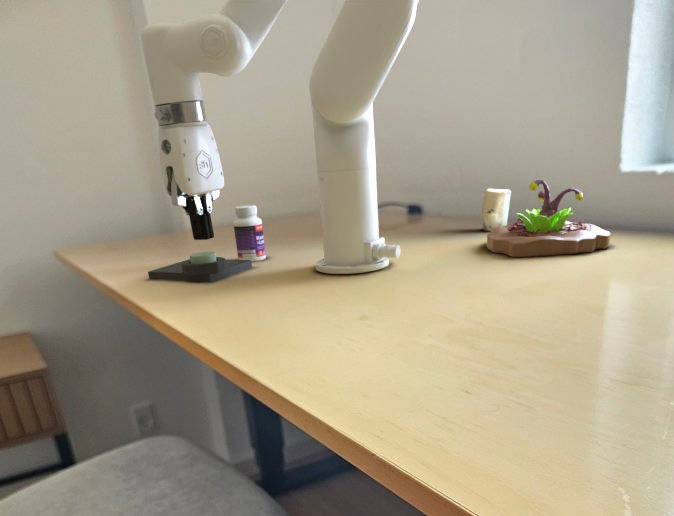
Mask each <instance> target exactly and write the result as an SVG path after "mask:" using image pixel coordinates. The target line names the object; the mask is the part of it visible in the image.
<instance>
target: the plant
mask: <svg viewBox="0 0 674 516" xmlns="http://www.w3.org/2000/svg"><path fill="white" fill-rule="evenodd" d="M540 185H542V187H543V190H540V191H539V192H538V194H537V199H538V200H539V201H540V202H541V201H543V204H542V206H541V209H540V208H537V207H534V208H532V210H529V209H525V213H526V214H527V215H528V216H529V218H528V217H527V216H526V215H524V214H523V213H519V212H516V213H515V214H516V216H518V217H519V218H518V219H517V221H516V222H513V223H510V224H507V225H506V226H503V227H501V228H497V229H494V230H492V231H489V232H488V234H487V236H486V248H487V250H489V251H490V252H492V253H497V254H504V255H507V256H509V257H512V258H527V257H539V256H541V257H544V256H545V257H547V256H558V255H576V254H581V253H582V254H583V253H593V252H594V251H595V250H601V249H602V250H603V249H604V250H605V249H607V248H609V246H610V243H611V232H610V231H608V230H605V229H602V228H601V227H599V226H597V225H595V224H592V223H584V220H582V221H573V222H571V220H569V218H570V217H572V216H573V214H575V211H572V212H570V211H571V210H572V208H571V207H566V208H563V209H561V210H559V206H560V203H561V201H562V200H563V197H564V196H565V195H566V194H568V193H571V192H574V195H575V196H574V197H575V199H576V200H577V201H579V202H581V201H582V200H583V199H584V193H583V192H582V191H581V190H580V189H577V188H574V187H570V188H566V189H564V190H562V191H560V192H559V194H557V196H556V197H555V198H554V199H553V200H551V190H550V187H549V186H548V184H547V183H546V181H545V180H544V179H536V180H532V181H531V182H530V184H529V186H528V188H529V190H530V192H535V191H536V190H538V188H539V186H540Z"/></svg>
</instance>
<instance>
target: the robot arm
mask: <svg viewBox="0 0 674 516" xmlns="http://www.w3.org/2000/svg"><path fill="white" fill-rule="evenodd" d="M287 2H288V0H227V1H226V2H225V3H224V5H223V7H222V9H221V10H220V12H219V13H206V14H204V15H200V16H196V17H194V18H190V19H187V20H183V21H182V20H181V21H162V22H156V23H151V24H148V25H146V26H144V27H143V29H142V30H141V35H140V40H141V46H142V50H143V55H144V60H145V65H146V70H147V76H148V81H149V85H150V91H151V96H152V101H153V106H154V117H155V119H156V121H157V126H158V129H157V140H158V141H157V142H158V152H159V161H160V168H161V169H160V170H161V174H162V179H163V184H164V187H165V191H166V193H167V195H168V196H170V197H171V204H172V205H173V206H175V207H181V208H182V209H183V210H184V212H185V214H186V216H188V217H189V222H190V227H191V233H192V238H193V240H194V241H208V240H210V239H214V238H215V233H214V227H213V222H212V216H211V213H212V212H213V202H214V201H215V200H216V199H218V198H219V197H220V191H221V190H222V189H223V188H224V187H225V185H226V184H225V176H224V171H223V165H222V161H221V156H220V152H219V149H218V145H217V142H216V138H215V135H214V133H213V130H212V127H211V125H210V124H208V120H207V114H206V109H205V103H204V99H203V92H202V87H201V86H202V85H201V81H200V73H201V74H203V73H204V74H205V73H206V74H214V75H217V76H218V77H219V76H220V77H224V78H231V77H234V76H237V75H238V74H240V73H241V72H242V71H243V70H244V69H245V68H246V67H247V65H248V64H249V62H250V61H251V59H252V58H253V57H254V55H255V53H256V52H257V51H258V49H259V47H260V46H261V45H262V43H263V42H264V40H265V38H266V37H267V36H268V33H269V32H270V31H271V29H272V27H273V26H274V24H275V22H276V20H277V19H278V17H279V15H280V13H281V12H282V11H283V8H284V6H285V5H286V3H287ZM419 2H420V0H344V2H343V4H342V5H341V8H340V10H339V12H338V14H337V15H336V16H337V17H336V19H335V21H334V22H333V25H332V26H331V29H330V31H329V33H328V35H327V37H326V39H325V42H324V44H323V45H322V48H321V50H320V52H319V54H318V56H317V57H316V60H315V63H314V64H313V67H312V70H311V73H310V77H309V83H308V84H309V85H308V86H309V96H310V104H311V105H310V106H311V113H312V124H313V134H314V147H315V160H316V161H315V162H316V175H317V185H318V186H317V187H318V198H319V199H318V200H319V201H318V202H319V211H320V224H321V237H322V246H323V247H322V248H323V249H322V250H323V258H321V259H319V260H317V261H316V262H315V270H316V271H317V272H320V273H322V274H329V275H349V274H350V275H351V274H363V273H368V272H374V271H378V270H381V269H384V268H386V267H388V266H389V264H390V259H399V258H400V257H401V253H402V252H401V251H402V250H401V247H400V245H398V244H390V245H387V243H386V239H385V236H380V231H379V209H378V208H379V207H378V187H377V186H378V184H377V159H376V157H377V156H376V140H375V124H374V123H375V122H374V106H373V103H374V101H375V99H376V97H377V95H378V93H379V91H380V90H381V88H382V86H383V84H384V82H385V81H386V79H387V77H388V75H389V72H390V71H391V69H392V67H393V65H394V63H395V62H396V59H397V58H398V55H399V54H400V52H401V50H402V48H403V46H404V44H405V42H406V40H407V38H408V36H409V34H410V32H411V30H412V27H413V26H414V23H415V20H416V15H417V8H418V7H417V6H418V4H419Z"/></svg>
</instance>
